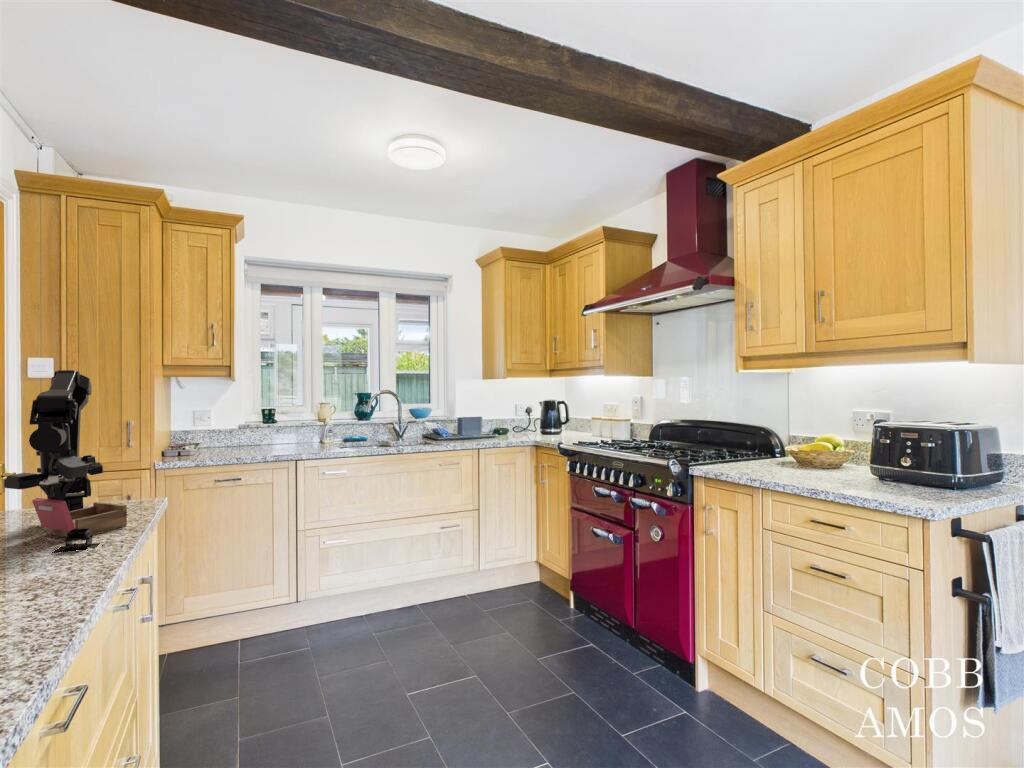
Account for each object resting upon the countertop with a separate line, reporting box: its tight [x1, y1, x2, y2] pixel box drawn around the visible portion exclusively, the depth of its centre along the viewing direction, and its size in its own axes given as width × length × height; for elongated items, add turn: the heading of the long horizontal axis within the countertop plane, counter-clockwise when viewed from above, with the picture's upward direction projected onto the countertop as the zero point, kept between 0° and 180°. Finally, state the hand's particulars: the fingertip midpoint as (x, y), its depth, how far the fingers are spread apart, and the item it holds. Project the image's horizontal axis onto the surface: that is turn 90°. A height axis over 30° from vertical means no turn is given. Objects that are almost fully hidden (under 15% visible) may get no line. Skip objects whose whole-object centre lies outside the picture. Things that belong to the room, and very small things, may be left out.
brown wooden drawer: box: [46, 501, 128, 537], centre depth 140 cm, size 11×12×6 cm
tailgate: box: [31, 497, 75, 531], centre depth 132 cm, size 10×2×8 cm, turn 72°
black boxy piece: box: [51, 528, 101, 554], centre depth 126 cm, size 12×7×5 cm, turn 110°
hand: (58, 509), depth 133 cm, fingers closed
